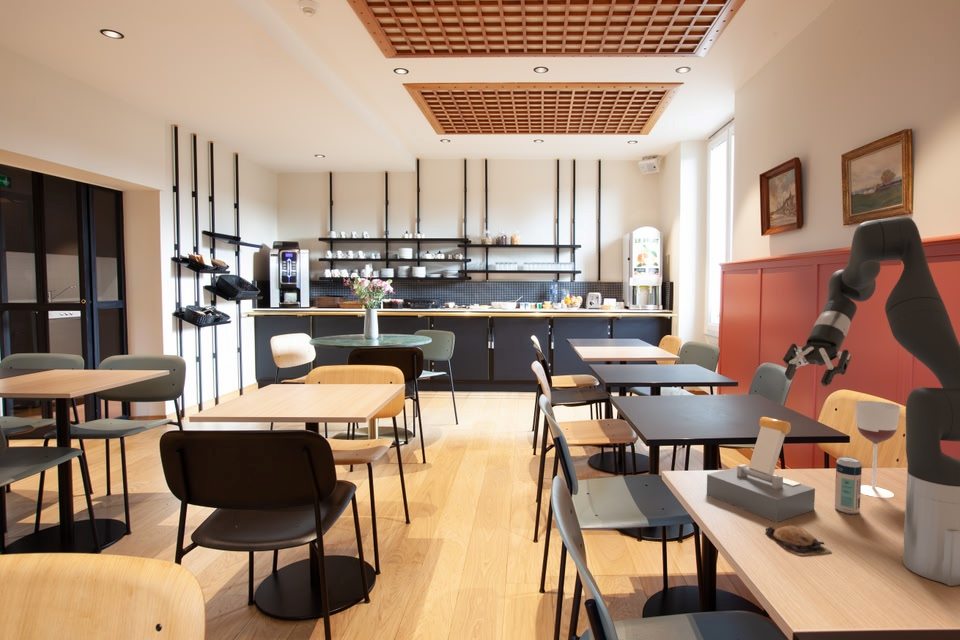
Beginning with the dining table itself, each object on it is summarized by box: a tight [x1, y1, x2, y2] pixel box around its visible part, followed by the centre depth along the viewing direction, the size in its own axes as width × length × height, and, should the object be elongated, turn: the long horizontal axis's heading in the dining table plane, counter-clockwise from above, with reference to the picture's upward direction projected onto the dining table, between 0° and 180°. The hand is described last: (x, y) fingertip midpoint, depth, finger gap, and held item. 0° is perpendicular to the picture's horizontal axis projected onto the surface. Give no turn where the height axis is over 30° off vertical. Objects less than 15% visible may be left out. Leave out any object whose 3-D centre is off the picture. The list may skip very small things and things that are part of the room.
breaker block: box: [706, 463, 816, 523], centre depth 127 cm, size 14×18×8 cm
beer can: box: [834, 456, 863, 515], centre depth 122 cm, size 5×5×12 cm
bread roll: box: [764, 525, 832, 558], centre depth 107 cm, size 11×8×4 cm
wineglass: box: [854, 400, 901, 499], centre depth 133 cm, size 9×10×22 cm
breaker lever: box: [744, 416, 792, 483], centre depth 128 cm, size 3×7×15 cm, turn 29°
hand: (805, 381), depth 135 cm, fingers open, 8 cm apart
